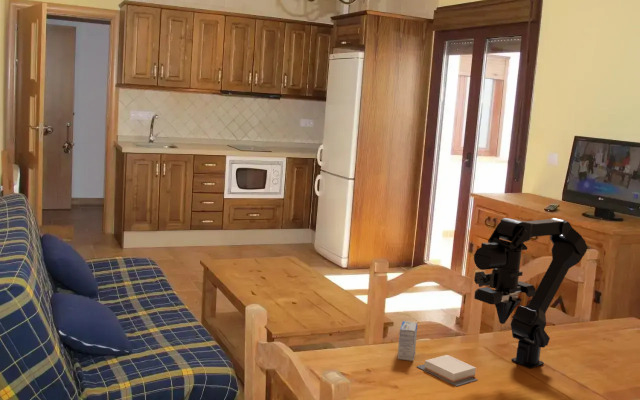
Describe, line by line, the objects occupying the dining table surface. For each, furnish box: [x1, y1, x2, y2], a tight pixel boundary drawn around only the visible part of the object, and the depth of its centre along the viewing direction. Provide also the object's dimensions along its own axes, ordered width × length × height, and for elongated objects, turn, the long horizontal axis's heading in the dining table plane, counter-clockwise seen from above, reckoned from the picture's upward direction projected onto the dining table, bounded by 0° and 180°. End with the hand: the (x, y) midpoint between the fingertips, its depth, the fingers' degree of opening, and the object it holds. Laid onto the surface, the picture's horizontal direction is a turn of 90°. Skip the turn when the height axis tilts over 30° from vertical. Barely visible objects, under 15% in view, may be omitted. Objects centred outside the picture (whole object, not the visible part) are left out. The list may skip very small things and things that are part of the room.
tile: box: [424, 354, 477, 382], centre depth 180 cm, size 2×10×8 cm
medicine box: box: [397, 320, 418, 362], centre depth 190 cm, size 8×4×9 cm, turn 168°
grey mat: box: [416, 363, 478, 387], centre depth 180 cm, size 8×14×1 cm, turn 37°
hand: (502, 323), depth 183 cm, fingers closed
